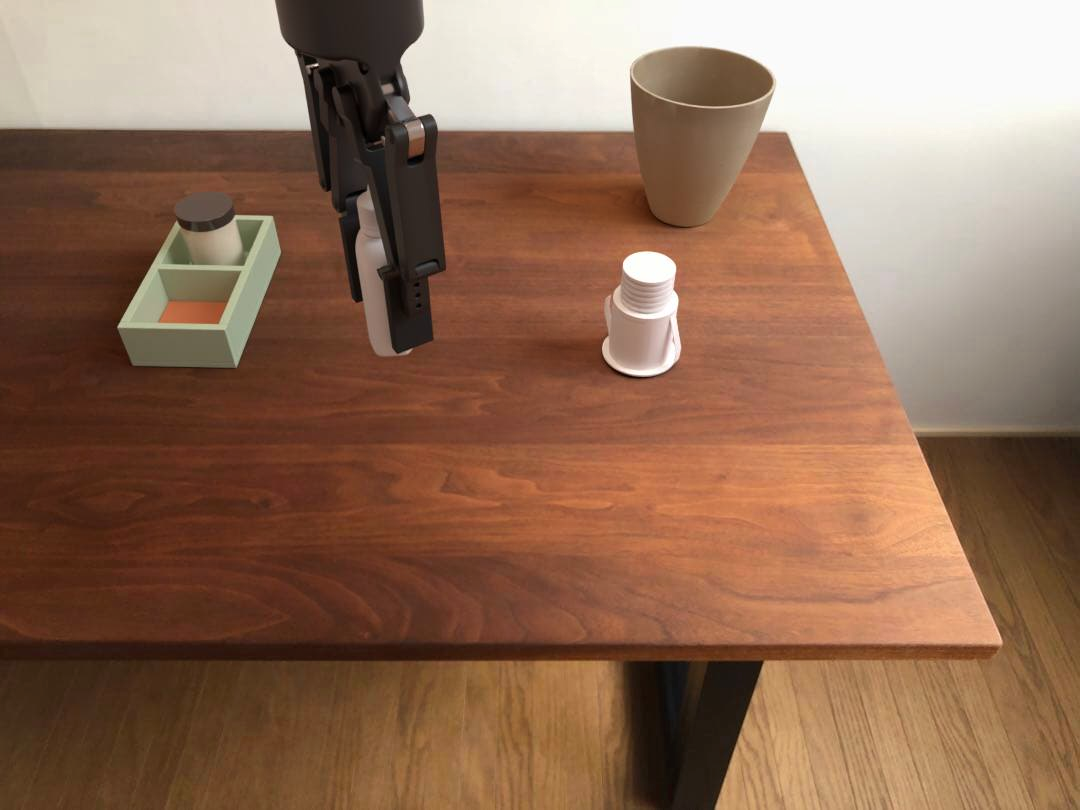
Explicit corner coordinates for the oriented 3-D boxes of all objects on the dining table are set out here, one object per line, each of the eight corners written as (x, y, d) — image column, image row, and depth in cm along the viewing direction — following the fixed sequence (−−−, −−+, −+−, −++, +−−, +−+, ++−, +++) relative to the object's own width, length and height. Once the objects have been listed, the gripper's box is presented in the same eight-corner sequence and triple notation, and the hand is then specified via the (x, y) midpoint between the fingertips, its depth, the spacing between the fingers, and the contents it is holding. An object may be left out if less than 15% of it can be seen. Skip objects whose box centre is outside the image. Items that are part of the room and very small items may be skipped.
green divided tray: (236, 368, 82) (224, 329, 79) (132, 366, 82) (116, 327, 79) (281, 252, 95) (273, 215, 92) (191, 250, 95) (180, 213, 92)
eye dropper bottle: (441, 317, 63) (428, 165, 55) (401, 366, 59) (381, 210, 51) (387, 302, 64) (367, 150, 56) (345, 348, 61) (316, 193, 52)
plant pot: (757, 248, 97) (788, 109, 86) (621, 244, 97) (633, 105, 86) (739, 177, 108) (764, 45, 97) (615, 174, 108) (626, 42, 97)
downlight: (583, 355, 84) (588, 268, 77) (624, 318, 88) (632, 232, 81) (655, 392, 81) (667, 304, 74) (694, 351, 85) (709, 265, 78)
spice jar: (206, 296, 89) (184, 227, 83) (188, 269, 92) (166, 201, 86) (258, 278, 91) (240, 210, 85) (239, 252, 94) (221, 185, 89)
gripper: (504, 3, 41) (509, 377, 57) (337, -102, 52) (382, 236, 68) (352, 38, 38) (404, 421, 54) (210, -81, 49) (288, 267, 65)
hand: (391, 317), depth 61 cm, fingers closed on eye dropper bottle, 6 cm apart
